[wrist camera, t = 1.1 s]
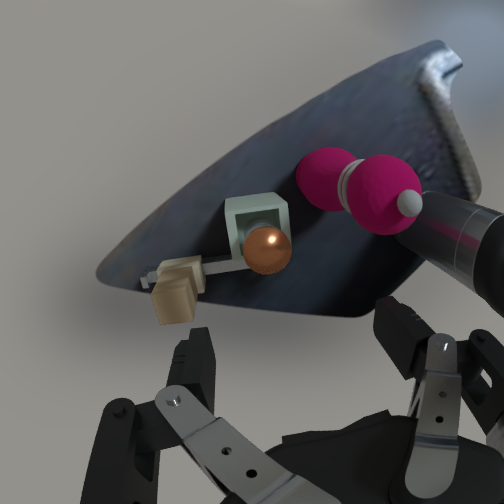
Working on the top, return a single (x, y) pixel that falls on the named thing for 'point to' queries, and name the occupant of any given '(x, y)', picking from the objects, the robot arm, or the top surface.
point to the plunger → (265, 246)
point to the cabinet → (249, 208)
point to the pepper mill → (362, 188)
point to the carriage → (178, 289)
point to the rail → (208, 266)
